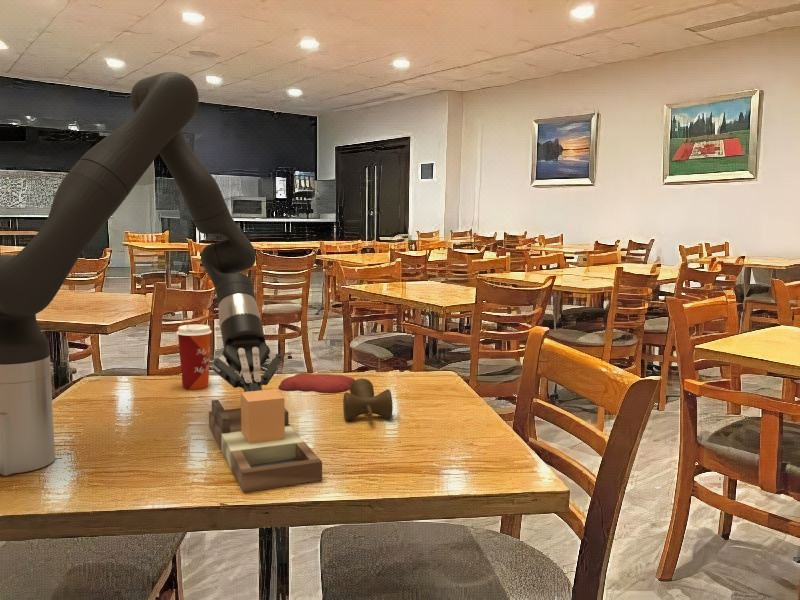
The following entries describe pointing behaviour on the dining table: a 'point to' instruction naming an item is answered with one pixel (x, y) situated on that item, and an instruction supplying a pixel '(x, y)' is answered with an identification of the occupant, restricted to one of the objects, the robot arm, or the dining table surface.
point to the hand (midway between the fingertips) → (256, 404)
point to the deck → (263, 454)
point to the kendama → (366, 401)
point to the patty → (317, 383)
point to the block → (262, 415)
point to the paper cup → (194, 355)
